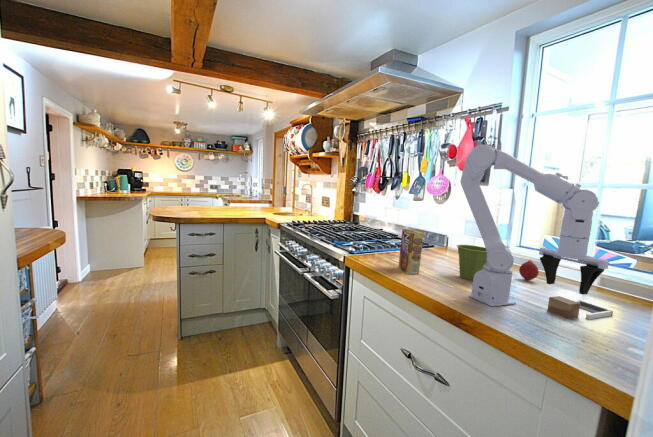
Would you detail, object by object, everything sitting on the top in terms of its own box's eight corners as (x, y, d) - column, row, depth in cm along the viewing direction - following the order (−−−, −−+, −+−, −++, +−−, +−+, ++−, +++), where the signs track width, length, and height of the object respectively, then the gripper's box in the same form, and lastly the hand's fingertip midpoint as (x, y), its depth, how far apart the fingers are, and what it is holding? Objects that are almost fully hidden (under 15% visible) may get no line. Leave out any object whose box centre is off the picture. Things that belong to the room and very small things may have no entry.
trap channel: (588, 319, 75) (589, 315, 75) (555, 307, 82) (556, 303, 82) (612, 315, 79) (612, 311, 79) (578, 304, 86) (579, 300, 86)
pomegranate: (540, 284, 104) (543, 262, 103) (522, 282, 105) (525, 260, 104) (532, 279, 110) (535, 258, 109) (515, 277, 111) (518, 256, 110)
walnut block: (567, 319, 74) (569, 304, 74) (547, 311, 79) (549, 296, 79) (578, 318, 76) (580, 303, 75) (557, 310, 80) (559, 296, 80)
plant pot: (496, 285, 99) (501, 252, 98) (461, 282, 99) (465, 250, 98) (479, 274, 111) (483, 245, 110) (447, 272, 111) (451, 243, 110)
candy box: (420, 274, 106) (424, 232, 104) (409, 274, 105) (413, 232, 103) (408, 267, 114) (411, 228, 113) (397, 267, 113) (401, 228, 112)
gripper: (619, 242, 70) (610, 297, 71) (553, 232, 83) (546, 278, 84) (602, 242, 67) (592, 299, 68) (537, 232, 80) (530, 280, 82)
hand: (566, 288), depth 76 cm, fingers open, 7 cm apart
